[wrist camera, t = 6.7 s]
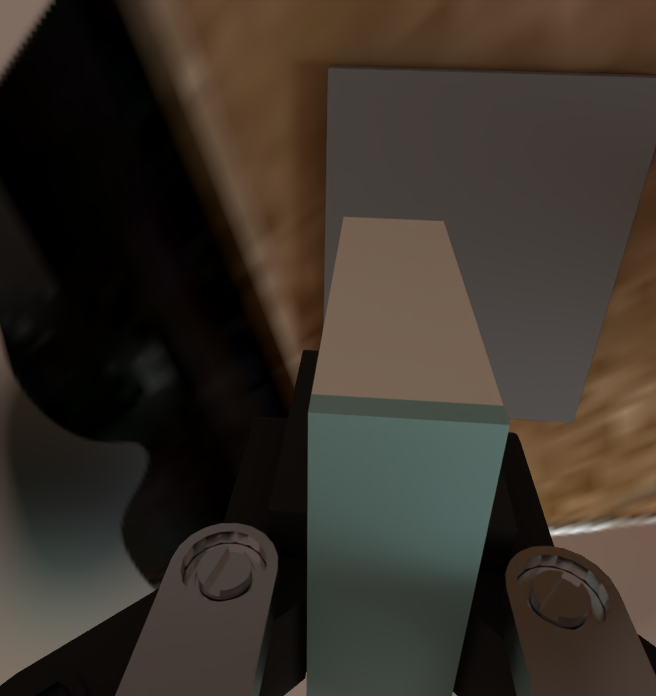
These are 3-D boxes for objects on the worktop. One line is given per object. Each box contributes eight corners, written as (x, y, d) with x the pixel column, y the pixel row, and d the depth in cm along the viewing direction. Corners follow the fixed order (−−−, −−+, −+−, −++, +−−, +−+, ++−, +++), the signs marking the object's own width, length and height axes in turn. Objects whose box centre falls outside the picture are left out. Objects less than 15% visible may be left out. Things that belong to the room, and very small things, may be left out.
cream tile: (408, 508, 14) (427, 808, 9) (333, 502, 14) (306, 796, 9) (443, 221, 10) (509, 424, 5) (343, 216, 11) (308, 413, 5)
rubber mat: (665, 75, 14) (676, 78, 13) (567, 411, 19) (572, 422, 19) (330, 65, 14) (328, 67, 14) (323, 395, 20) (322, 405, 19)
